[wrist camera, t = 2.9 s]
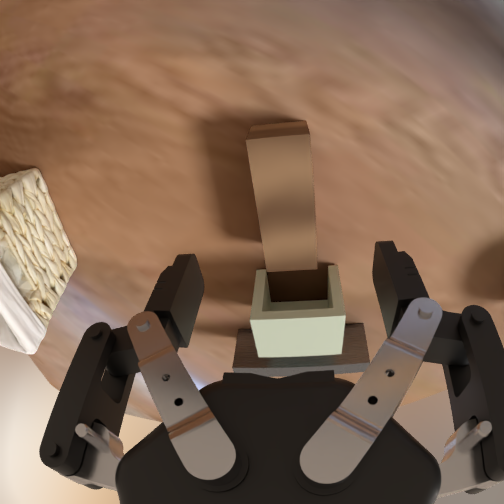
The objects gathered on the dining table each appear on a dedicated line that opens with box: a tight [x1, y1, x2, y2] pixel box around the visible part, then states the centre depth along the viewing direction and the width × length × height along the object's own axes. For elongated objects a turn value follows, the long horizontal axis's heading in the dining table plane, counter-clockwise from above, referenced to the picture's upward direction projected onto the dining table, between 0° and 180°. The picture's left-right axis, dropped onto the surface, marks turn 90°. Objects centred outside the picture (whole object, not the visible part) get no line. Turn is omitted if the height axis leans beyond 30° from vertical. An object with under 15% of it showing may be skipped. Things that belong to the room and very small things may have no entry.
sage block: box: [250, 265, 346, 357], centre depth 32 cm, size 6×8×7 cm
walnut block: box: [246, 121, 317, 272], centre depth 26 cm, size 12×4×4 cm, turn 9°
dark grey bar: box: [232, 323, 370, 377], centre depth 38 cm, size 5×16×6 cm, turn 99°
